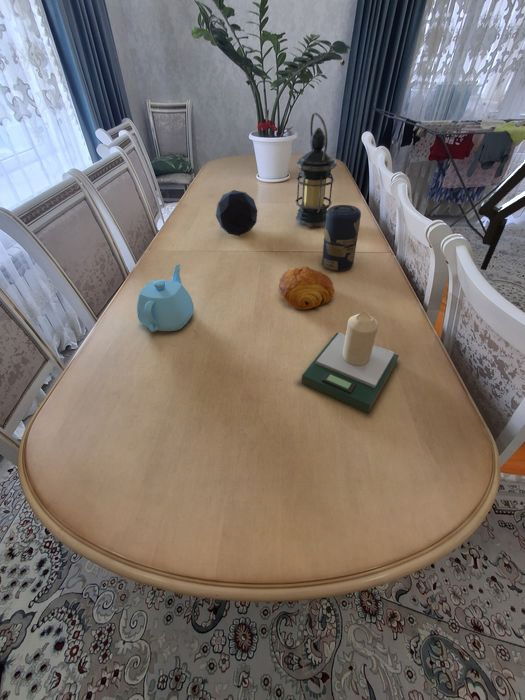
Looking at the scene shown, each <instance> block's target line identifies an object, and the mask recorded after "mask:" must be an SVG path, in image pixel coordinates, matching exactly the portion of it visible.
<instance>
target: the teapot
mask: <svg viewBox="0 0 525 700" xmlns="http://www.w3.org/2000/svg"><path fill="white" fill-rule="evenodd" d="M180 271H181V264H177V265H175V267H174V269H173V271H172V280H171V279H153V280H150V281H149V282H147V283H146V284H145V285H144V287H142V288H141V290H140V292H139V293H138V298H137V302H136V314H137V319H138V321H139V322H140V323H141V324H142V325H143V326H145V327H147V328H148V330H149V332H152V333H154V332H156V331H159V332H175V331H179V330H181V329H183V327H184V326H186V325H187V323H188V322H189V321H190V319H191V317H192V315H193V313H194V310H195V306H194V302H193V299H192V297H191V295H190V293H189V292H188V290H187V289H186V288H185V287H184V285H183V283H182V279H181V276H180Z"/></svg>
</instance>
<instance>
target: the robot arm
mask: <svg viewBox="0 0 525 700" xmlns="http://www.w3.org/2000/svg"><path fill="white" fill-rule="evenodd" d="M524 179H525V160H524V161H523V162H522V163H521V164H520V165H519V166H518V167H517V168H516V169H515V170H514V171H512V173H511V174H510V175H509V176H507V178H506V179H505V180H504V181H503V182H502V183H501V184H500V185H499V186H498V187H497V188H496V189H495V190H493V192H492V193H491V194H490V195H489V196H488V197H487V198H486V199H485V200H484V201H483V202H482V203H481V205H480V207H479V209H478V211H477V212H478V215H479V216H482V217H483V216H484V217H486V218H487V219H488V221H489V222H488V226H487V228H486V230H485V233H484V236H483V237H482V241H481V242H482V245H487V246H488V250H487V252H486V254H485V256H484V258H483V261H482V263H481V266H480V269H479V270H482V271H487V269H488V266H489V264H490V262H491V260H492V258H493V255H494V253H495V251H496V248H497V247H498V244H499V242H500V239H501V237H502V235H503V232H504V230H505V228H506V226H507V222H508V217H510V216H511V215H513V214H515V213H517V212H518V211H520V210H521V209H523V208H524V207H525V190H524V191H523V192H521V193H519V194H517V195H516V196H515V197H513V198H512V199H510V200H508V201H507V202H505V203H504V204H502V205H501V206H499V207H498V206H497V205H498V204H499V203H500V202H501V201H502V200H503V199H505V197H506V196H507V195H509V193H510V192H511V191H512V190H514V188H516V187H517V186H518V185H519V184H520V183H521V182H522V181H523V180H524Z"/></svg>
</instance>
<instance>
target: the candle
mask: <svg viewBox="0 0 525 700" xmlns="http://www.w3.org/2000/svg"><path fill="white" fill-rule="evenodd" d="M378 328H379V323H378V321H377V320H376V319H375V317H373V316H371V314H369V312H366V311H365V312H360V313H357V314H354V315H352V316H351V317H349V318H348V319H347V325H346V331H345V335H346V336H345V342H344V348H343V358H344V360H345V361H346V362H348V363H349V364H352V365H357V366H359V365H364V364H366V363H368V361H369V360H370V356H371V353H372V349H373V345H375V340H376V337H377V332H378Z"/></svg>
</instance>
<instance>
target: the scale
mask: <svg viewBox="0 0 525 700" xmlns="http://www.w3.org/2000/svg"><path fill="white" fill-rule="evenodd" d="M345 336H346V333H345V334H344V333H342V332H336V333H335V334H334V335H333V337H332V338H331V339H330V340H329V342H328V343H327V344H326V345H325V346H324V347H323V349H322V350H321V351H320V352H319V354H318V355H317V356H316V357H315V358H314V359H313V361H312V362H311V364H310V365H309V366H308V367H307V368H306V369H305V371H304V372H303V374H301V384H302V385H305V386H307V387H309V388H311V389H313V390H315V391H317V392H320V393H322V394H324V395H326V396H329V397H331V398H333V399H335V400H337V401H340V402H342V403H344V404H347V405H349V406H351V407H353V408H355V409H357V410H359V411H361V412H364V413H366V414H369V412H370V410H371V409H372V407H373V405H374V404H375V402H376V400H377V398H378V397H379V395H380V393H381V391H382V389H383V388H384V386H385V384H386V382H387V380H388V378H389V377H390V375H391V373H392V372H393V369H395V366H396V364H397V362H398V360H399V359H398V358H399V354H397V353H395V352H394V351H391V350H388V349H386V348H384V347H381V346H377V345H376V344H373V349H372V353H371V356H370V360H369V361H368V363H366V364H364V365H359V366H357V365H352V364H349V363H348V362H346V361H345V360H344V358H343V348H344V342H345Z"/></svg>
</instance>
